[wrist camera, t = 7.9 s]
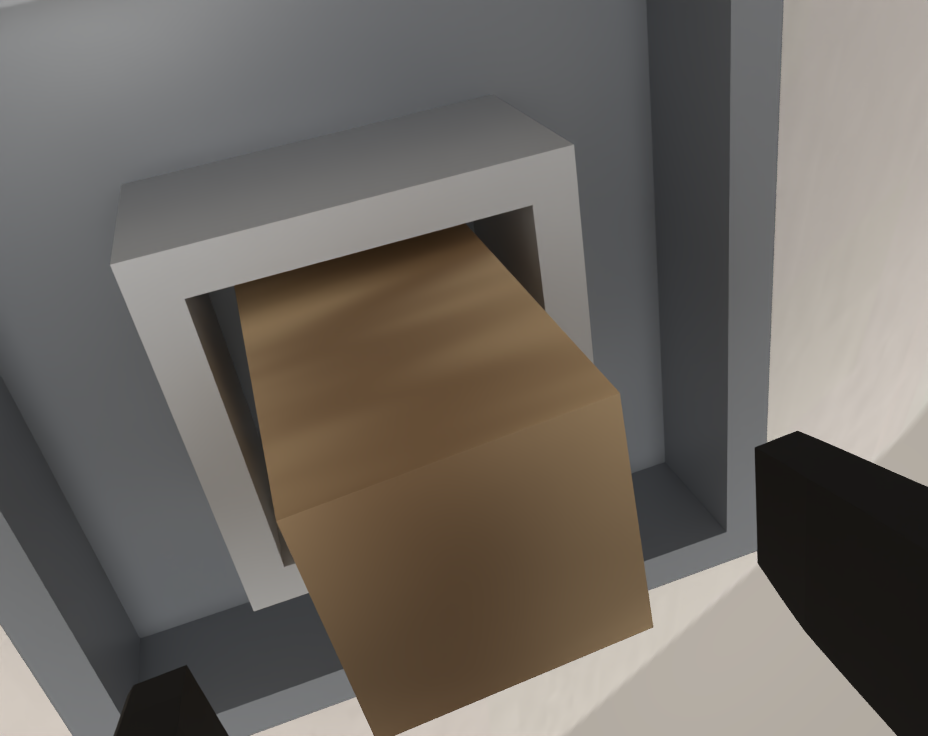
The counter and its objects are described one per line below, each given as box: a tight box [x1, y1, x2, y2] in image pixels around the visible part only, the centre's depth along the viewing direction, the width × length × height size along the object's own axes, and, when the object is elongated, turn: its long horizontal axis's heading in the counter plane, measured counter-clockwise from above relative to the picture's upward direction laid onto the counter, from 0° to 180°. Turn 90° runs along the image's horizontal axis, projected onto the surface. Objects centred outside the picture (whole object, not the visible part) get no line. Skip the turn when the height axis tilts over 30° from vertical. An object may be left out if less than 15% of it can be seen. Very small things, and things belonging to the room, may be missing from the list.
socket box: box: [0, 0, 783, 736], centre depth 17 cm, size 16×16×5 cm
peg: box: [234, 223, 653, 736], centre depth 14 cm, size 4×4×9 cm
